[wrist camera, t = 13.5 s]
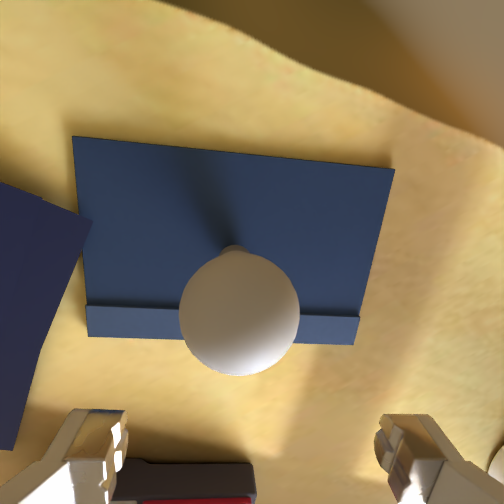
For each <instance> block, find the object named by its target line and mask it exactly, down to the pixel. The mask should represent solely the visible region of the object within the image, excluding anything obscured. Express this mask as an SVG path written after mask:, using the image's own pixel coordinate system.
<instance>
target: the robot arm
mask: <svg viewBox="0 0 504 504" xmlns="http://www.w3.org/2000/svg"><path fill="white" fill-rule="evenodd" d="M127 421H128V416H127V411H125V410H103V409H73V410H72V411H71V412H70V413H69V414H68V416H67V418H66V419H65V421H64V423H63V424H62V426H61V428H60V429H59V431H58V433H57V434H56V436H55V438H54V439H53V441H52V443H51V444H50V446H49V448H48V449H47V451H46V453H45V454H44V456H43V458H42V459H41V461H38V462H33V463H32V464H30V465H29V466H28V467H26V468H25V469H24V470H22V471H21V472H20V473H18V474H17V475H16V476H14V477H13V478H12V479H10V480H9V481H8V482H6V483H5V484H4V485H2V486H1V487H0V504H110V502H111V499H112V496H113V493H114V490H115V487H116V484H117V478H116V473H117V472H118V471H119V470H120V469H121V468H122V466H123V463H124V460H125V456H126V451H127V447H128V430H127V429H126V428H125V426H126V423H127ZM379 424H380V426H381V429H380V430H379V431H378V432H377V433H376V435H375V439H374V450H375V454H376V458H377V460H378V462H379V464H380V467H382V468H383V469H384V470H385V471H386V472H387V473H388V474H389V475H388V483H389V485H390V487H391V490H392V492H393V494H394V496H395V498H396V500H397V502H398V504H504V445H503V446H502V447H501V448H500V450H499V451H498V452H497V454H496V455H495V457H494V458H493V460H492V462H491V464H490V467H489V471H488V473H486V472H485V471H483V470H482V469H480V468H479V467H478V466H476V465H475V464H473V463H472V462H470V461H465V460H464V459H463V457H462V456H461V455H460V453H459V452H458V451H457V449H456V448H455V447H454V446H453V444H452V443H451V442H450V440H449V439H448V438H447V436H446V435H445V434H444V432H443V431H442V430H441V428H440V427H439V426H438V424H437V423H436V422H435V421H434V419H433V418H432V417H431V416H429V415H428V414H413V415H412V414H383V415H382V416H381V418H380V421H379Z"/></svg>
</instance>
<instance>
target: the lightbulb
mask: <svg viewBox="0 0 504 504" xmlns="http://www.w3.org/2000/svg"><path fill="white" fill-rule="evenodd" d="M299 320H300V309H299V301H298V297H297V293H296V291H295V289H294V287H293V285H292V283H291V281H290V279H289V278H288V277H287V275H286V274H285V273H284V272H283V271H282V270H281V269H280V268H279V267H277V266H276V265H275V264H274V263H272V262H271V261H269V260H267V259H265V258H263V257H261V256H257V255H254V254H250V253H249V251H248V250H247V249H246V248H244V247H243V246H240V245H230V246H228V247H226V248H224V249H223V250H222V251H221V252H220V254H219V256H218V257H216V258H214V259H212V260H210V261H208V262H207V263H206V264H204V265H203V266H202V267H200V268H199V269H198V271H197V272H196V273H195V274H194V275H193V276H192V277H191V278H190V280H189V281H188V283H187V285H186V287H185V288H184V291H183V294H182V297H181V301H180V305H179V322H180V328H181V333H182V335H183V338H184V340H185V342H186V345H187V347H188V348H189V350H190V351H191V352H192V354H193V355H194V356H195V357H196V358H197V359H198V360H199V361H200V362H202V363H203V364H204V365H206V366H207V367H209V368H211V369H212V370H215V371H217V372H220V373H223V374H228V375H236V376H243V375H251V374H254V373H258V372H260V371H263V370H265V369H267V368H269V367H271V366H272V365H274V364H275V363H277V362H278V361H279V360H280V359H281V358H282V357H283V356H284V355H285V353H286V352H287V351H288V349H289V348H290V346H291V345H292V343H293V341H294V339H295V337H296V334H297V329H298V325H299Z"/></svg>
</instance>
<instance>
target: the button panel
mask: <svg viewBox="0 0 504 504" xmlns="http://www.w3.org/2000/svg"><path fill="white" fill-rule="evenodd" d="M116 478H117V484H116V487H115V490H114V493H113V496H112V499H111V502H110V504H255V500H256V497H257V491H256V484H255V477H254V470H253V465H252V464H250V463H236V464H148V463H146V462H145V461H143V460H142V459H140V458H129V459H125V460H124V463H123V466H122V468H121V469H120V470H119V471H118V472H117V473H116Z"/></svg>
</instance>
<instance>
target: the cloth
mask: <svg viewBox="0 0 504 504" xmlns="http://www.w3.org/2000/svg"><path fill="white" fill-rule="evenodd" d="M72 143H73V154H74V165H75V176H76V187H77V198H78V209H79V215H80V216H83V217H85V218H87V219H90V220H92V221H93V224H92V226H91V229H90V231H89V233H88V236H87V238H86V241H85V243H84V246H83V248H82V254H83V265H84V276H85V288H86V299H87V304H86V305H85V309H86V320H87V330H88V337H113V338H145V339H177V340H184V338H183V335H182V333H181V328H180V322H179V305H180V301H181V297H182V294H183V291H184V288H185V287H186V285H187V283H188V281H189V280H190V278H191V277H192V276H193V275H194V274H195V273H196V272H197V271H198V269H199V268H200V267H202V266H203V265H204V264H206V263H207V262H208V261H210V260H212V259H214V258H216V257H218V256H219V254H220V252H221V251H222V250H223V249H224V248H226V247H228V246H230V245H240V246H243V247H244V248H246V249H247V250H248V251H249V253H250V254H254V255H257V256H261V257H263V258H265V259H267V260H269V261H271V262H272V263H274V264H275V265H276V266H277V267H279V268H280V269H281V270H282V271H283V272H284V273H285V274H286V275H287V277H288V278H289V279H290V281H291V283H292V285H293V287H294V289H295V291H296V293H297V297H298V301H299V309H300V320H299V325H298V329H297V334H296V337H295V339H294V341H293V343H304V344H336V345H354V341H355V337H356V333H357V329H358V325H359V321H360V316H359V313H360V309H361V305H362V301H363V297H364V293H365V289H366V285H367V281H368V277H369V273H370V269H371V265H372V261H373V257H374V253H375V249H376V245H377V241H378V237H379V233H380V229H381V225H382V221H383V217H384V213H385V209H386V205H387V201H388V197H389V193H390V189H391V185H392V181H393V177H394V173H395V169H389V168H380V167H370V166H360V165H351V164H341V163H331V162H321V161H312V160H302V159H292V158H283V157H273V156H263V155H254V154H244V153H234V152H225V151H215V150H205V149H196V148H186V147H176V146H167V145H157V144H147V143H138V142H128V141H118V140H109V139H99V138H89V137H79V136H72Z"/></svg>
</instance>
